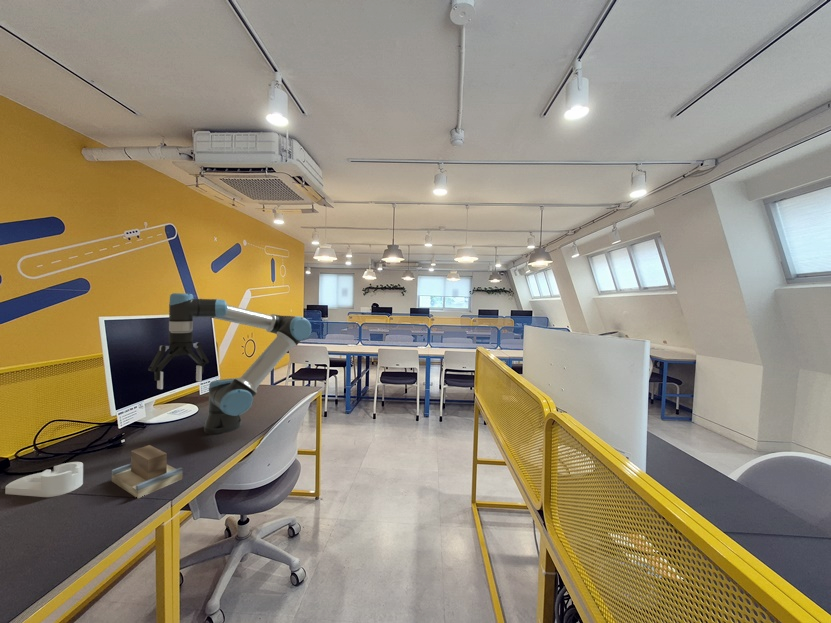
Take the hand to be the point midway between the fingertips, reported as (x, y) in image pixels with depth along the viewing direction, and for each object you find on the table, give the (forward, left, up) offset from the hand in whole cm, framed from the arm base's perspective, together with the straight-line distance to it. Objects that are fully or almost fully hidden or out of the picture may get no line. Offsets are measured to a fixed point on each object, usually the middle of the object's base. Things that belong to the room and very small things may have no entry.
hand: (180, 384), depth 123 cm
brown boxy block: (+16, +14, -24) cm, 32 cm away
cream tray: (+16, +14, -27) cm, 34 cm away
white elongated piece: (+33, -8, -27) cm, 44 cm away
